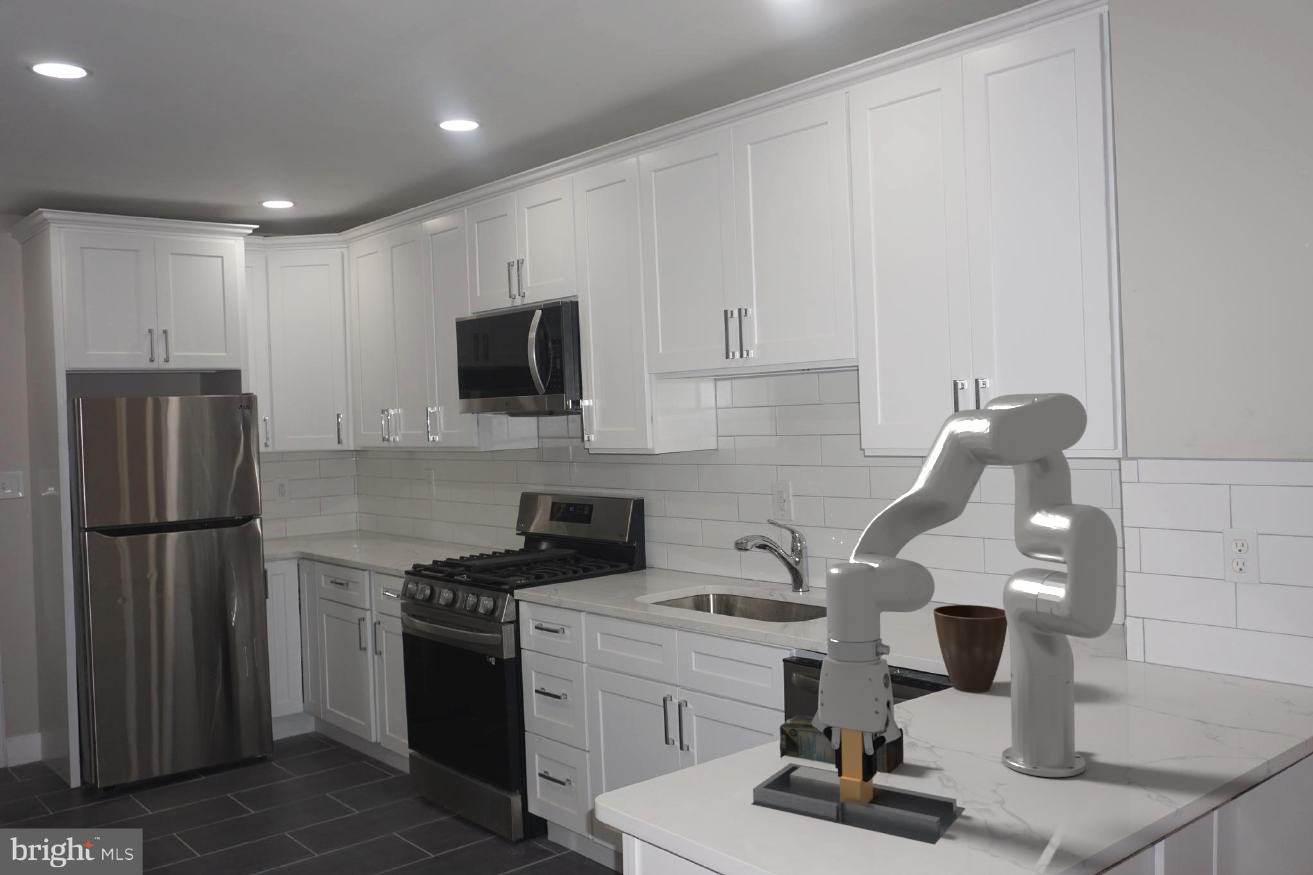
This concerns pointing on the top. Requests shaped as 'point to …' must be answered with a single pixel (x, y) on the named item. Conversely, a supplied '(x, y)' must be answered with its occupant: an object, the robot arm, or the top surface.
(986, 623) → the plant pot
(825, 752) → the beverage carton
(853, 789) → the tan stepped beam
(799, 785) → the chip
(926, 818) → the slot board
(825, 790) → the grey cube
